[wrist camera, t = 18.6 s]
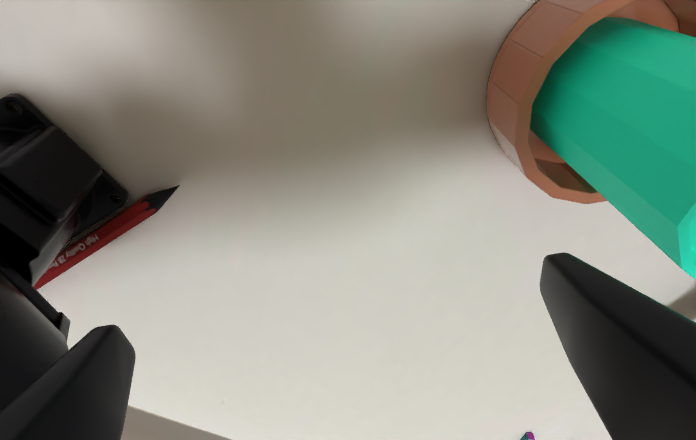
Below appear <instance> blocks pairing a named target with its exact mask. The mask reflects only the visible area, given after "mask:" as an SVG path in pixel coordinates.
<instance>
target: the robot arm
mask: <svg viewBox="0 0 696 440" xmlns="http://www.w3.org/2000/svg"><path fill="white" fill-rule="evenodd" d="M12 103H15V104H17V105H18V107H19V109H20V110H17V109H15V108H14V107H13V106H12ZM113 194H115V195H118V196H119V197H120V199H118V198H115V197H114V196H113ZM128 197H129V196H128V193H127V191H126V190H125V189H124V188H123V187H122V186H121V185H120V184H118V183H117V182H116V181H115V180H114V179H113V178H112V177H111V176H110V175H109V174H108V173H106V172H105V171H104V170H103V169H102V168H101V166H100V165H99V164H97V163H96V162H95V161H94V160H93V159H92V158H91V157H90V156H89V155H88V154H87V153H85V152H84V151H83V150H82V149H81V148H80V147H79V146H78V145H77V144H76V143H75V142H74V141H72V140H71V139H70V138H69V137H68V136H67V135H66V134H65V133H64V132H63V131H62V130H60V129H59V128H57V127H56V126H55V125H54V124H53V123H52V122H51V121H50V120H49V119H48V118H46V117H45V116H44V115H43V114H42V113H41V112H40V111H39V110H38V109H37V108H36V107H34V106H33V105H32V104H31V103H30V102H29V101H28V100H27V99H26V98H24V97H23V96H21V95H18V94H9V95H7V96H5V97H4V98H2V99H1V100H0V440H120V439H121V435H122V431H123V427H124V422H125V417H126V411H127V405H128V399H129V394H130V388H131V382H132V376H133V370H134V364H135V351H134V348H133V346H132V345H131V343H130V342H129V341H128V339H127V338H126V336H125V335H124V333H123V332H122V331H121V329H120V328H119V327H118V326H116V325H107V326H101V327H96V328H94V329H93V330H91V331H90V332H89V333H88V334H87V335H86V336H84V337H83V338H82V339H81V340H80V341H79V342H78V343H77V344H75V345H74V346H73V347H72V348H71V349H70V350H69V351H68V346H67V337H68V332H69V326H70V320H69V319H68V318H67V317H66V316H65V315H64V314H63V313H62V312H59V313H58V312H57V311H56V310H55V309H54V308H53V307H52V306H51V305H50V304H49V303H48V302H47V301H46V300H45V299H44V297H43V296H42V295H41V294H40V293H39V292H38V291H37V290H36V289H35V288H34V287H33V286H34V285H35V284H36V283H37V281H38V280H39V279H40V277H41V276H42V275H43V273H44V272H45V271H46V269H47V268H48V267H49V265H50V264H51V263H52V262H53V260H54V259H55V258H56V256H57V255H58V254H59V252H60V251H61V250H62V248H63V247H64V246H65V244H66V243H67V242H68V240H70V239H71V238H73V237H75V236H76V235H78V234H79V233H81V232H82V231H84V230H86V229H87V228H89V227H90V226H92V225H93V224H95V223H97V222H98V221H100V220H101V219H103V218H104V217H106V216H108V215H109V214H111V213H112V212H114V211H115V210H117V209H119V208H120V207H122V206H123V205H124V204H125V203H126V201H127V200H128ZM540 291H541V295H542V297H543V300H544V302H545V305H546V307H547V309H548V312H549V314H550V317H551V319H552V321H553V324H554V326H555V329H556V331H557V333H558V336H559V338H560V341H561V343H562V345H563V348H564V350H565V352H566V355H567V357H568V359H569V361H570V363H571V365H572V367H573V369H574V371H575V373H576V375H577V376H578V378H579V380H580V382H581V384H582V385H583V387H584V389H585V391H586V393H587V394H588V396H589V398H590V400H591V402H592V403H593V405H594V407H595V409H596V411H597V412H598V414H599V416H600V418H601V420H602V422H603V423H604V425H605V427H606V429H607V431H608V432H609V434H610V436H611V438H612V440H696V323H695V322H694V321H692V320H690V319H688V318H686V317H684V316H683V315H681V314H679V313H677V312H675V311H673V310H672V309H670V308H668V307H666V306H664V305H662V304H661V303H659V302H657V301H655V300H653V299H651V298H650V297H648V296H646V295H644V294H642V293H640V292H639V291H637V290H635V289H633V288H631V287H629V286H628V285H626V284H624V283H622V282H620V281H618V280H617V279H615V278H613V277H611V276H609V275H607V274H606V273H604V272H602V271H600V270H598V269H596V268H595V267H593V266H591V265H589V264H587V263H585V262H584V261H582V260H580V259H578V258H576V257H574V256H573V255H571V254H568V253H557V254H551V255H547V256H546V257H545V258H544V261H543V267H542V273H541V279H540Z"/></svg>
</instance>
